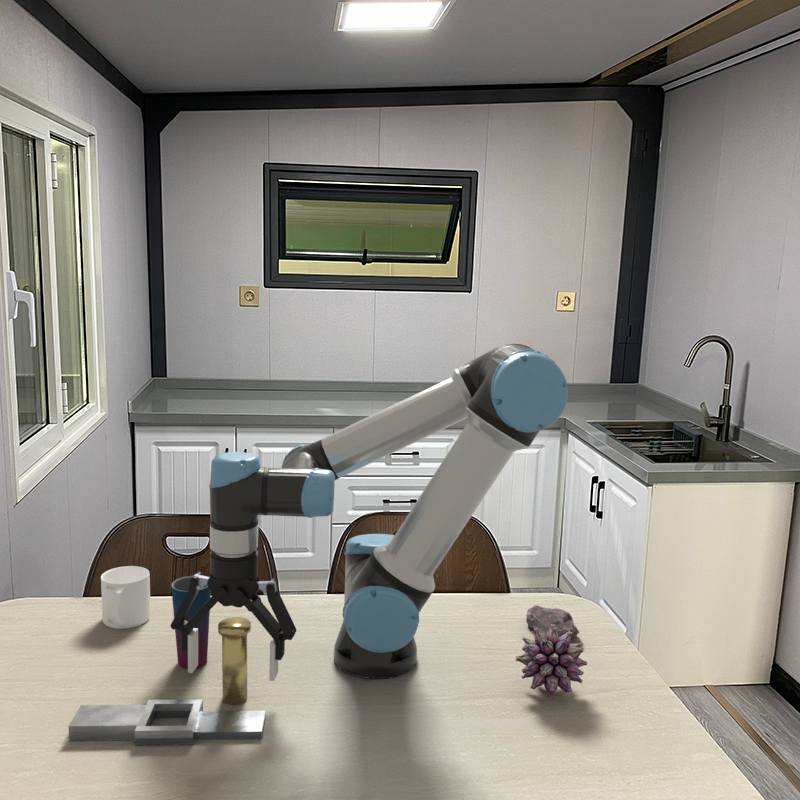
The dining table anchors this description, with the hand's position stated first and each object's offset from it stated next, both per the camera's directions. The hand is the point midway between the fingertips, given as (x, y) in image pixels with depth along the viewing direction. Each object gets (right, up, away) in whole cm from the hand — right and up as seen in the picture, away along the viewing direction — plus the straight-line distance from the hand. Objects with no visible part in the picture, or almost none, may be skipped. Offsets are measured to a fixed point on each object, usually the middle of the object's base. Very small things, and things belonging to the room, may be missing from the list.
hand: (233, 672), depth 130 cm
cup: (-10, -2, +12) cm, 15 cm away
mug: (-27, +1, +26) cm, 38 cm away
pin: (0, -4, +1) cm, 5 cm away
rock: (+58, -2, +28) cm, 64 cm away
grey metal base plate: (-8, -6, -8) cm, 13 cm away
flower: (+53, -5, +5) cm, 53 cm away
